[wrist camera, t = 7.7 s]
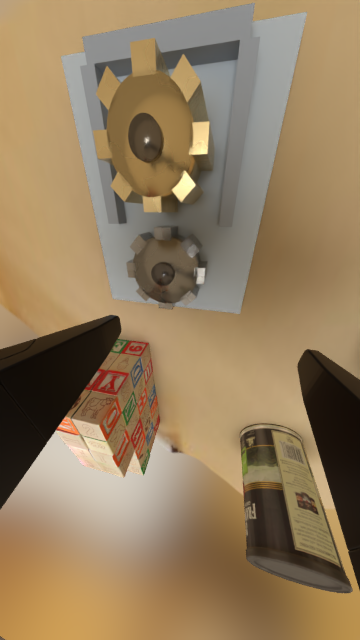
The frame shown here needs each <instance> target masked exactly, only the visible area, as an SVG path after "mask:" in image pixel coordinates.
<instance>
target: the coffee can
mask: <svg viewBox="0 0 360 640" xmlns="http://www.w3.org/2000/svg"><path fill="white" fill-rule="evenodd" d="M240 442H241V457H242V473H243V490H244V507H245V523H246V524H245V525H246V539H247V540H246V541H247V550H246V558H247V560H248V561H249V562H250V563H251V564H252V565H254V566H256V567H258V568H259V569H262V570H264V571H266V572H268V573H271V574H273V575H276V576H279V577H281V578H284V579H286V580H289V581H293V582H296V583H299V584H302V585H306V586H309V587H313V588H317V589H321V590H325V591H330V592H337V593H351V592H352V587H351V584H350V581H349V579H348V578H347V576H346V574H345V571H344V567H343V564H342V561H341V558H340V555H339V552H338V549H337V546H336V543H335V540H334V537H333V534H332V531H331V528H330V525H329V522H328V519H327V516H326V513H325V509H324V506H323V503H322V500H321V497H320V494H319V491H318V488H317V485H316V482H315V479H314V476H313V473H312V470H311V467H310V464H309V461H308V458H307V455H306V452H305V449H304V445H303V441H302V439H301V437H300V436H299V435H298V434H297V433H295V432H294V431H292V430H290V429H287V428H285V427H282V426H277V425H271V424H258V425H252V426H249V427H247V428H245V429H244V430H242V432H241V433H240Z"/></svg>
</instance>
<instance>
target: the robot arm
mask: <svg viewBox="0 0 360 640" xmlns="http://www.w3.org/2000/svg"><path fill="white" fill-rule="evenodd" d="M120 333H121V324H120V318H119V317H118V316H115V315H109V316H106V317H103V318H100V319H96V320H93V321H90V322H87V323H84V324H81V325H77V326H74V327H71V328H68V329H65V330H62V331H59V332H55V333H52V334H49V335H46V336H43V337H40V338H37V339H33V340H30V341H27V342H24V343H21V344H17V345H14V346H11V347H7V348H3V349H0V509H1V508H2V506H3V505H4V504H5V502H6V501H7V499H8V498H9V496H10V495H11V493H12V492H13V491H14V489H15V488H16V486H17V485H18V484H19V482H20V481H21V479H22V478H23V476H24V475H25V473H26V472H27V471H28V469H29V468H30V466H31V465H32V463H33V462H34V461H35V459H36V458H37V457H38V455H39V454H40V452H41V451H42V449H43V448H44V447H45V445H46V444H47V442H48V441H49V439H50V438H51V436H52V435H53V434H54V432H55V431H56V429H57V428H58V426H59V425H60V424H61V422H62V421H63V419H64V418H65V416H66V415H67V414H68V412H69V411H70V409H71V408H72V406H73V405H74V404H75V402H76V401H77V399H78V398H79V397H80V395H81V394H82V392H83V391H84V389H85V388H86V387H87V385H88V384H89V382H90V381H91V379H92V378H93V377H94V375H95V374H96V372H97V371H98V369H99V368H100V367H101V365H102V364H103V362H104V361H105V360H106V358H107V356H108V355H109V353H110V351H111V350H112V348H113V346H114V344H115V342H116V341H117V339H118V337H119V335H120ZM298 373H299V379H300V385H301V391H302V396H303V401H304V405H305V408H306V411H307V415H308V418H309V421H310V425H311V428H312V431H313V435H314V438H315V441H316V445H317V448H318V452H319V455H320V458H321V462H322V465H323V468H324V472H325V475H326V478H327V482H328V485H329V488H330V492H331V495H332V498H333V502H334V505H335V509H336V512H337V515H338V519H339V522H340V525H341V529H342V532H343V535H344V538H345V542H346V545H347V548H348V550H349V552H348V553H349V556H350V559H351V563H352V566H353V570H354V573H355V576H356V579H357V583H358V586H359V589H360V380H359V379H358V378H356V377H355V376H353V375H352V374H351V373H349V372H348V371H346V370H345V369H343V368H342V367H340V366H339V365H338V364H336V363H335V362H333V361H332V360H330V359H329V358H327V357H326V356H325V355H323V354H322V353H320V352H319V351H316V350H310V349H307V350H305V351H304V353H303V355H302V357H301V358H300V360H299V362H298ZM0 640H5V639H4V638H2V637H1V636H0Z"/></svg>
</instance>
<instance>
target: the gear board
mask: <svg viewBox="0 0 360 640" xmlns="http://www.w3.org/2000/svg"><path fill="white" fill-rule="evenodd" d="M254 5H255V3H252V4H247V5H241V6H236V7H231V8H226V9H221V10H216V11H211V12H206V13H201V14H196V15H191V16H186V17H181V18H176V19H171V20H166V21H161V22H156V23H151V24H146V25H141V26H136V27H131V28H126V29H121V30H116V31H111V32H106V33H101V34H95V35H90V36H85V37H82V38H83V44H84V50H85V52H81V53H76V54H70V55H65V56H61V59H62V63H63V68H64V73H65V77H66V82H67V87H68V92H69V96H70V101H71V106H72V110H73V115H74V120H75V124H76V129H77V134H78V138H79V143H80V148H81V152H82V157H83V162H84V166H85V171H86V176H87V180H88V185H89V190H90V195H91V199H92V204H93V209H94V213H95V218H96V223H97V227H98V232H99V237H100V241H101V246H102V251H103V255H104V260H105V265H106V269H107V274H108V279H109V283H110V288H111V293H112V297H113V299H117V300H126V301H134V302H143V303H152V304H159V302H158V301H156V300H153V299H152V298H149V299H148V300H147V301H145V300H144V299H143V298H142V297H141V296H140V295H139V294H138V293H137V292H136V290H137V289H138V288H139V285H138V284H137V282H136V279H135V278H129V277H128V272H127V265H126V262H128V261H130V260H132V259H134V256H135V252H134V251H133V250H132V249H131V248H130V246H131V244H132V243H133V242H134V240H135V239H136V238H137V236H138V235H139V234H143V233H147V232H150V233H151V234H152V235H153V236H154V227H158V226H163V225H168V226H178V234H179V235H181V236H183V237H185V238H187V237H188V236H189V235H191V234H194V235H195V236H196V238H197V239H198V240H199V241H200V243H201V244H202V245H203V247H202V248H201V249H200V251H199V252H198V253H199V256H200V260H201V261H208V265H207V275H206V279H205V282H204V284H197V286H198V287H199V288H200V289H199V292H198V295H197V298H195V299H194V300H193V301H192V302H190V303H189V304H188V305H186V306H185V305H184V304H183V303H182V302H181V301H179V302H176V304H175V305H174V306H177V307H186V308H194V309H203V310H212V311H220V312H229V313H237V314H240V311H241V307H242V302H243V298H244V293H245V289H246V284H247V280H248V275H249V271H250V266H251V262H252V257H253V253H254V248H255V244H256V239H257V235H258V230H259V226H260V221H261V217H262V213H263V208H264V204H265V199H266V195H267V190H268V186H269V181H270V177H271V172H272V168H273V163H274V159H275V154H276V150H277V145H278V141H279V136H280V132H281V127H282V123H283V118H284V114H285V109H286V105H287V100H288V96H289V91H290V87H291V83H292V78H293V74H294V69H295V65H296V60H297V56H298V51H299V47H300V42H301V38H302V33H303V29H304V24H305V20H306V15H307V12H303V13H298V14H292V15H287V16H281V17H276V18H270V19H265V20H259V21H253V22H252V20H253V13H254ZM151 38H155V39H156V42H157V44H158V47H159V49H160V51H161V54H162V56H163V59H164V61H165V63H166V66H167V68H168V71H169V73H170V75H172V73H173V72H174V70H175V68H176V66H177V64H178V62H179V61H180V59H181V57H182V55H183V54H184V55H185V57H186V59H187V60H188V62H189V63H190V65H191V66H192V68H193V70H194V71H195V73H196V74H197V76H198V78H199V79H200V81H201V85H202V90H203V94H204V99H205V104H206V109H207V114H208V119H209V121H210V126H211V131H212V136H213V141H214V146H215V153H214V165H213V170H211V171H201V174H200V177H199V179H198V181H197V183H198V184H199V186H200V187H201V188H202V190H203V191H204V193H203V194H202V195H201V196H200V198H199V199H198V200H197V201H196V202H195V203H194V204H193V205H191V204H186V203H182V202H181V201H180V200H178V212H144V207H143V204H140V203H129V202H124V201H123V200H122V199H121V198H120V196H119V195H118V194H117V193H116V192H115V191H114V190H113V189H112V187H111V186H110V185H111V184H112V182H113V180H114V178H115V176H116V175H117V172H116V170H115V168H114V165H112V164H109V163H107V162H104V161H102V160H99V159H98V157H97V152H96V146H95V140H94V135H93V130H106V129H107V118H108V111H109V110H108V109H107V108H106V107H105V105H104V104H103V103H102V102H101V100H100V99H99V98H98V96H97V95H96V92H97V89H98V87H99V84H100V81H101V79H102V76H103V74H104V71H105V69H106V66H108V68H109V69H110V70H111V71H112V72H113V74H114V75H115V76H116V77H117V78H118V80H119V81H120V82H121V83H122V81H123V80H124V79H125V78H126V77H127V76H129V75H130V74H131V73H132V61H131V49H130V42H134V41H140V40H145V39H151ZM154 237H155V236H154Z"/></svg>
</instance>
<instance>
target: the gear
mask: <svg viewBox="0 0 360 640" xmlns="http://www.w3.org/2000/svg"><path fill="white" fill-rule="evenodd" d="M154 236H155V237H154ZM154 236H153V235H152V234H151V233H150V232H147V233H143V234H139V235H138V236H137V238H136V239H135V240H134V242H133V243H132V244H131V246H130V248H131V249H132V250H133V251H134V252H135V256H134V259H132V260H130V261H128V262H126V265H127V272H128V277H129V278H135V279H136V282H137V284H138V285H139V288H138V289H137V290H136V292H137V293H138V294H139V295H140V296H141V297H142V298H143V299H144V300H145V301H147V300H148V299H149V298H152V299H153V300H156V301H158V302H159V308H165V309H173V307H174V305H175V304H176V302H179V301H181V302H182V303H183V304H184V305H185V306H186V305H188V304H189V303H190V302H192V301H193V300H194V299H195V298H197V295H198V292H199V289H200V288H199V287H198V286H197V284H204V282H205V279H206V275H207V265H208V261H201V260H200V256H199V253H198V252H199V251H200V249H201V248H202V247H203V245H202V244H201V243H200V241H199V240H198V239H197V238H196V236H195V235H194V234H191V235H189V236H188V237H187V238H185V237H183V236H181V235H179V234H178V226H168V225H163V226H158V227H154Z"/></svg>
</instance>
